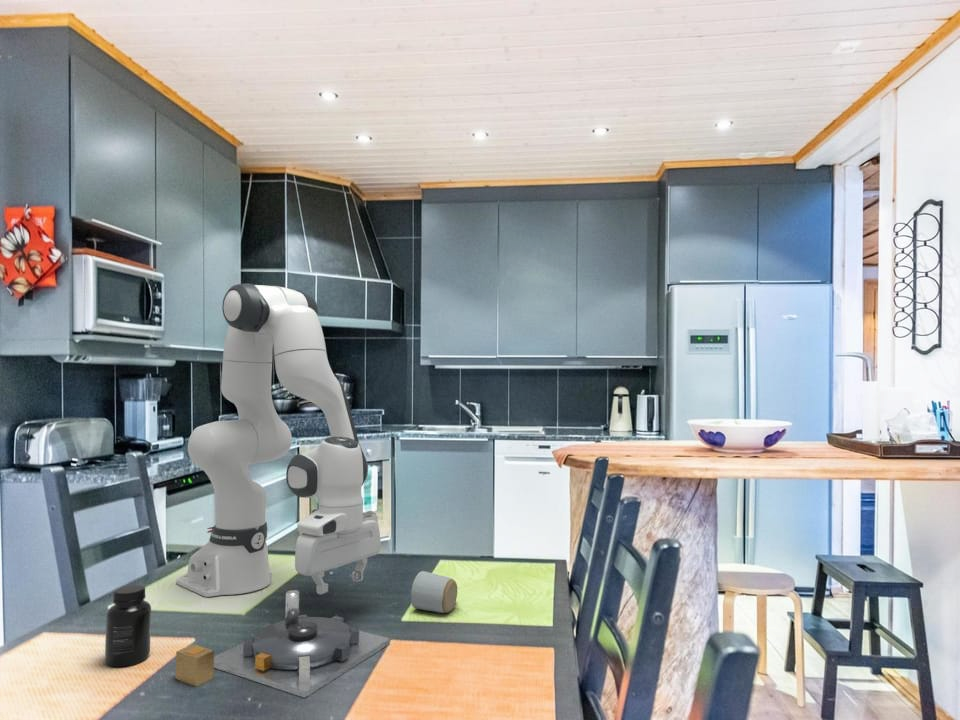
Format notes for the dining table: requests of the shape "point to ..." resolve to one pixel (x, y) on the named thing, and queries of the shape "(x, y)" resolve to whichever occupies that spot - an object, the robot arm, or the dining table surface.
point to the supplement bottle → (128, 627)
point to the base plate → (291, 675)
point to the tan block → (194, 665)
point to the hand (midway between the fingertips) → (340, 586)
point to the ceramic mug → (433, 592)
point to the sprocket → (300, 639)
